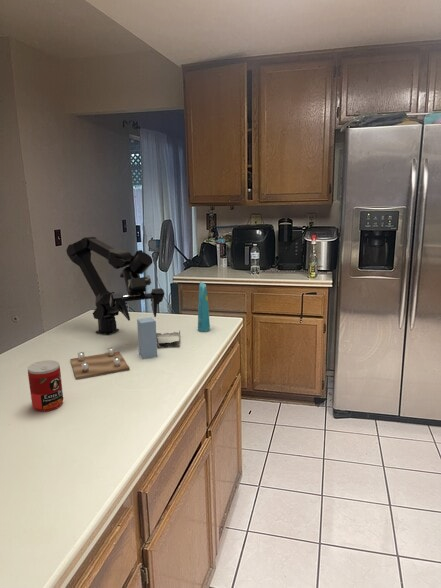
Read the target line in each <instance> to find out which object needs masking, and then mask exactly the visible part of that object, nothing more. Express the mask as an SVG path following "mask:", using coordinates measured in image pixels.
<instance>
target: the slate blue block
mask: <svg viewBox="0 0 441 588" xmlns="http://www.w3.org/2000/svg"><path fill="white" fill-rule="evenodd" d="M136 321H137V338H138V339H137V341H138V355H139V356H140V357H141V358H142V360H144V359H152V358H156V357H157V358H158V343H157V338H158V337H156V333H157V324H156V322H157V321H156V320H155V318H153V317H152V316H151V317H143V318H137V320H136Z"/></svg>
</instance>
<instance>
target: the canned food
mask: <svg viewBox="0 0 441 588" xmlns="http://www.w3.org/2000/svg"><path fill="white" fill-rule="evenodd" d="M61 373H62V372H61V366H60V362H58V361H57V360H52V359H51V360H50V359H47V360H46V359H44V360H39V361H36V362H34V363H31V364H30V365H28V366H27V378H28V383H29V390H30V399H31V406H32V408H33V410H35V411H37V412H49V411H50V412H51V411H53V410H56V409H59V408H60V407H61V406H62V405H63V403H64V395H63V394H64V393H63V384H62V374H61Z"/></svg>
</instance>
